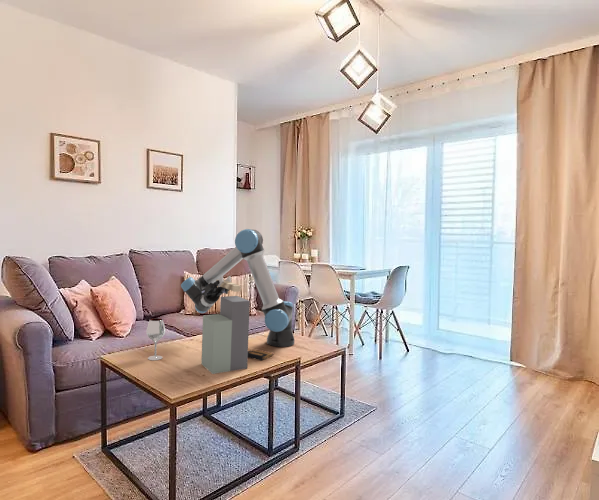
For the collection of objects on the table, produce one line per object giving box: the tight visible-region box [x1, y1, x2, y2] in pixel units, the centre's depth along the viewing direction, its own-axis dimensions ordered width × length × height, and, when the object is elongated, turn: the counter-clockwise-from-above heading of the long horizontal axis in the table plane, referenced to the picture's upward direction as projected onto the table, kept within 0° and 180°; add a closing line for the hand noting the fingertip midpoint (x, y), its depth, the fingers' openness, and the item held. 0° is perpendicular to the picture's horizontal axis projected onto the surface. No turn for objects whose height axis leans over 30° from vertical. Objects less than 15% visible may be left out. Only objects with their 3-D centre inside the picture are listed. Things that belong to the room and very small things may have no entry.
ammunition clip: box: [248, 348, 275, 361], centre depth 196 cm, size 11×2×12 cm
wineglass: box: [146, 317, 166, 361], centre depth 185 cm, size 8×8×18 cm
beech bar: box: [216, 279, 242, 292], centre depth 183 cm, size 22×3×2 cm, turn 32°
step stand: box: [200, 295, 251, 375], centre depth 178 cm, size 14×16×30 cm
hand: (226, 278), depth 185 cm, fingers closed on beech bar, 3 cm apart
